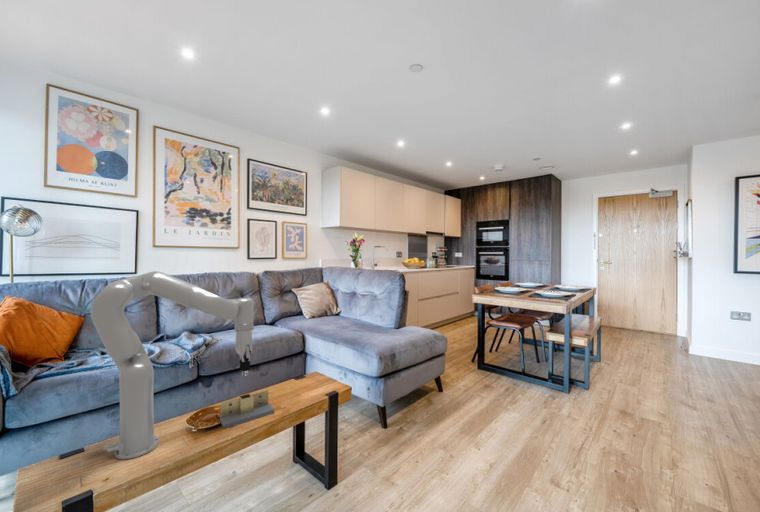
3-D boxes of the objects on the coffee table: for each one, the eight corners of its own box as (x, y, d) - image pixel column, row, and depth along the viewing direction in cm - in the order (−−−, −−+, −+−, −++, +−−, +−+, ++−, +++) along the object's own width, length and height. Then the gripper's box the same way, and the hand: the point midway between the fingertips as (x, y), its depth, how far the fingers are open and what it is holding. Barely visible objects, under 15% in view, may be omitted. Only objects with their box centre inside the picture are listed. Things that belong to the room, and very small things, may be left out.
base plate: (223, 428, 125) (223, 424, 125) (216, 414, 136) (216, 411, 136) (274, 413, 137) (274, 409, 137) (264, 401, 148) (264, 398, 148)
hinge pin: (242, 376, 135) (242, 355, 135) (241, 375, 137) (241, 354, 137) (248, 375, 137) (248, 354, 137) (247, 373, 138) (247, 353, 138)
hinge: (222, 419, 129) (222, 405, 129) (219, 415, 133) (219, 400, 133) (269, 406, 140) (269, 392, 140) (266, 401, 145) (266, 388, 145)
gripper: (230, 325, 141) (231, 366, 141) (239, 331, 128) (240, 377, 128) (248, 322, 145) (249, 362, 145) (258, 328, 133) (259, 372, 133)
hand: (244, 369), depth 137 cm, fingers closed on hinge pin, 2 cm apart
